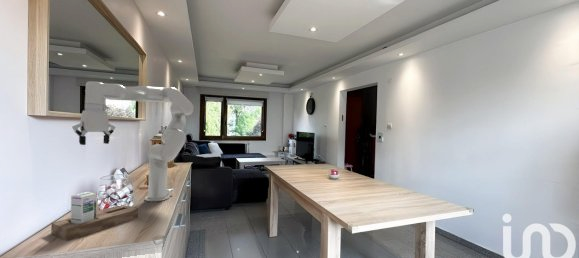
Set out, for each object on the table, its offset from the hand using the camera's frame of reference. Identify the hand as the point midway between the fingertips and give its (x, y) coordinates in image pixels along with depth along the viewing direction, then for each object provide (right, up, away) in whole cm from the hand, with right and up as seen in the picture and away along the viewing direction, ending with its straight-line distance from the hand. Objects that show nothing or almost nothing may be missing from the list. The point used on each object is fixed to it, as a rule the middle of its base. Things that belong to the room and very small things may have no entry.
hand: (94, 144), depth 114 cm
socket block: (+11, -34, -12) cm, 37 cm away
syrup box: (+9, -34, -17) cm, 39 cm away
